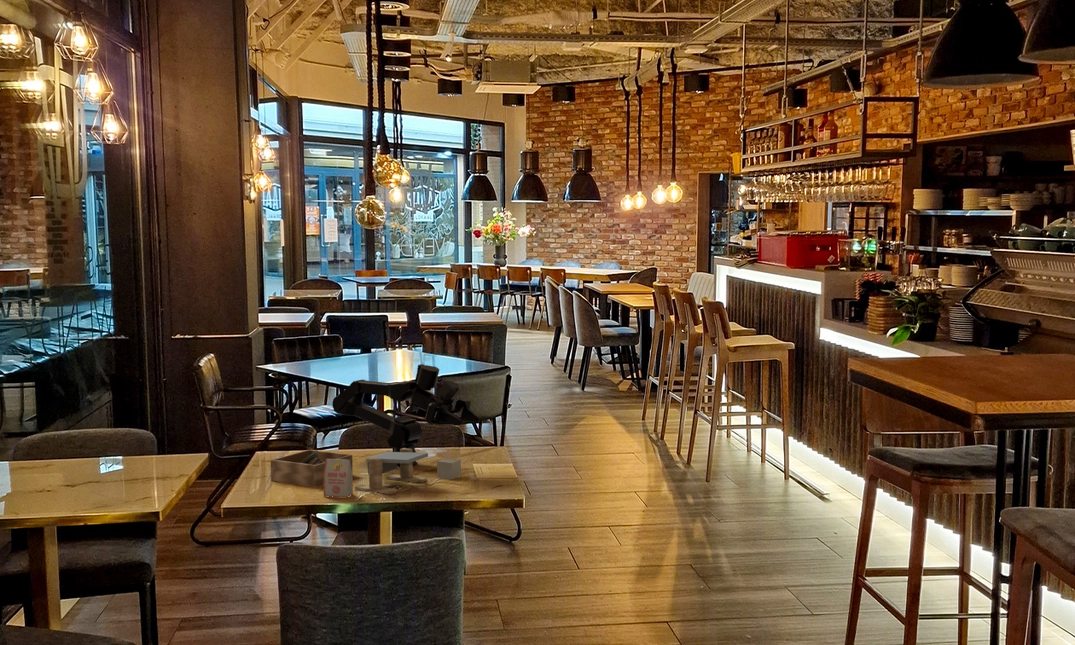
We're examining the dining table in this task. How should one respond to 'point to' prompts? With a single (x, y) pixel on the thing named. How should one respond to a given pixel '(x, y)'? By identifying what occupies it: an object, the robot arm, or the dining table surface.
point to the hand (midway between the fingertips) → (470, 421)
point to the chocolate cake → (312, 459)
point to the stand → (376, 475)
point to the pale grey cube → (448, 468)
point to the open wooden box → (303, 468)
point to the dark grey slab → (396, 459)
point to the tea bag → (338, 478)
